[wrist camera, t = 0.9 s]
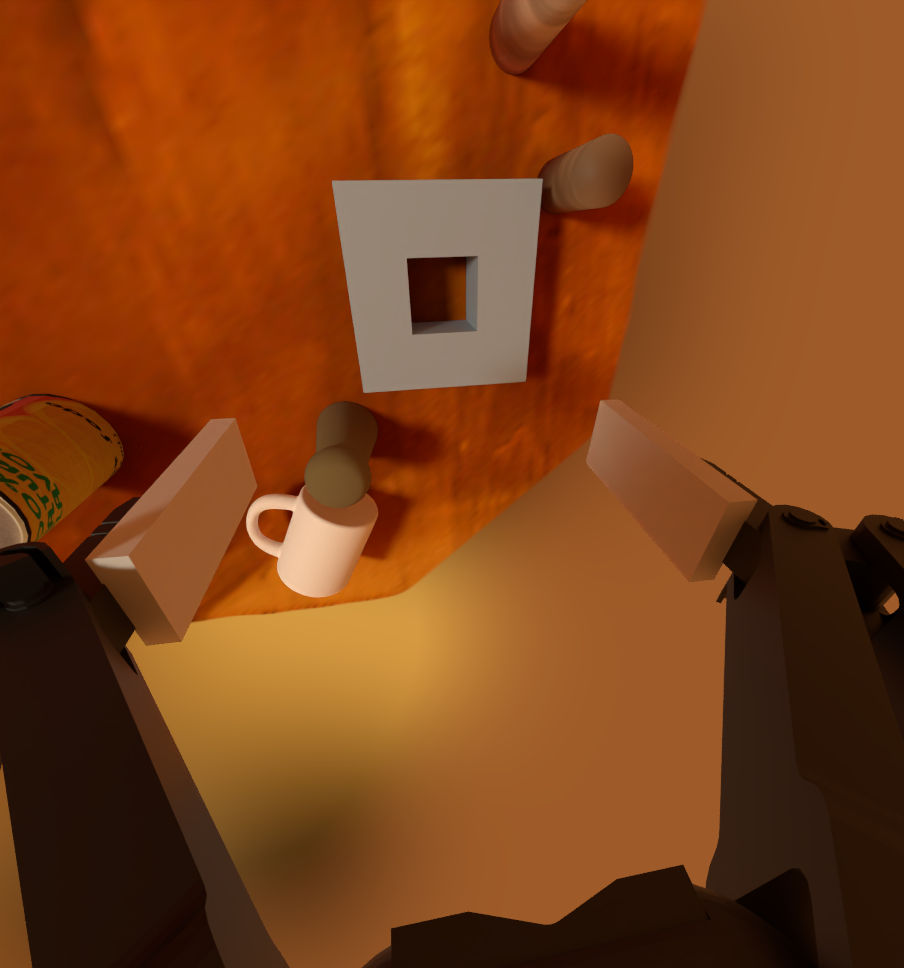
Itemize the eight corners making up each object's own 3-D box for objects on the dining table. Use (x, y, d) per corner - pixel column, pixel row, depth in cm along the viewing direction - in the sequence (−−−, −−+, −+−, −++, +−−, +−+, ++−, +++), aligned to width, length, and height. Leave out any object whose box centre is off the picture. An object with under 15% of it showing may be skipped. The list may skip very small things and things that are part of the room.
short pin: (538, 156, 29) (582, 133, 23) (582, 156, 30) (639, 133, 23) (533, 214, 31) (573, 208, 25) (575, 213, 32) (626, 207, 25)
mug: (379, 490, 44) (378, 536, 37) (352, 553, 48) (346, 604, 41) (267, 457, 40) (243, 502, 33) (248, 529, 44) (224, 581, 37)
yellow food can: (87, 386, 34) (-40, 450, 24) (143, 473, 38) (57, 557, 29) (-24, 401, 33) (-201, 474, 23) (47, 488, 38) (-73, 578, 28)
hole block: (339, 188, 29) (331, 180, 25) (521, 186, 30) (542, 178, 26) (366, 374, 36) (363, 392, 32) (510, 365, 38) (525, 381, 34)
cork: (377, 402, 38) (375, 455, 29) (378, 456, 41) (376, 519, 32) (313, 400, 37) (289, 454, 28) (319, 455, 40) (300, 520, 31)
